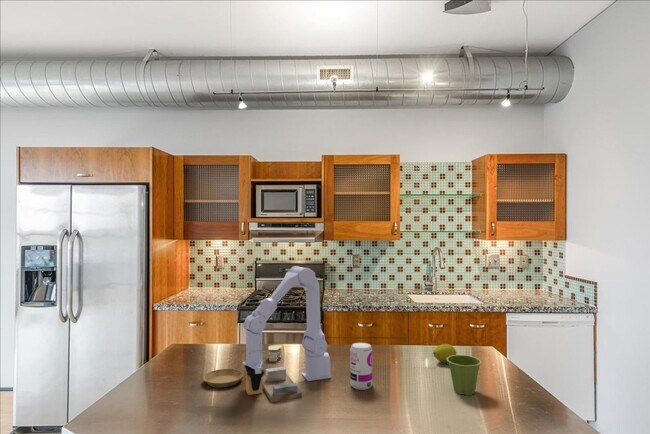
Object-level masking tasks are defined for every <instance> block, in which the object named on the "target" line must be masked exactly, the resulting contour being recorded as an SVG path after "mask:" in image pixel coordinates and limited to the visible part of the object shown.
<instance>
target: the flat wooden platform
mask: <svg viewBox="0 0 650 434" xmlns="http://www.w3.org/2000/svg"><path fill="white" fill-rule="evenodd" d="M262 391H264V392H265V393H264V394H265V395H266V396H267V398H268V400H269V401H270V403H273V402H281V401H285V400H291V399H293V400H294V399H297V398H302V397H303V391H302V390H301V389H300V388H299V387H298V384H297V383H296V382H294V381H293V379H292V378H290V376H289V375H288V374H287V373H286V380H279V381H272V382H267V380H266V375H263V376H262Z"/></svg>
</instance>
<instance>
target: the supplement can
mask: <svg viewBox="0 0 650 434" xmlns="http://www.w3.org/2000/svg"><path fill="white" fill-rule="evenodd" d="M349 352H350V353H349V355H350V356H349V357H350V359H349V363H350V365H349V367H350V368H349V369H350V370H349V373H350V376H349V377H350V380H349V381H350V383H349V385H350V386H351V387H352V388H353V389H355V390H361V391H362V390H363V391H364V390H369V389H370V388H372V386H373V348H372V345H371V344H370V343H367V342H354V343H352V344H351V347H350V351H349Z"/></svg>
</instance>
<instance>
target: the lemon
mask: <svg viewBox="0 0 650 434" xmlns="http://www.w3.org/2000/svg"><path fill="white" fill-rule="evenodd" d="M432 354H433V356H434V358H435V359H436V360H437V361H438V362H440V363H443V364H449V363H448V361H447V357H449V356H452V355H457V350H456V349H455V347H454V346H453V345H451V344H449V343H442V344H440V345H438V346H436V348H435V349H434V350H433V352H432Z"/></svg>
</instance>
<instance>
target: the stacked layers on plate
mask: <svg viewBox="0 0 650 434" xmlns="http://www.w3.org/2000/svg"><path fill="white" fill-rule="evenodd" d="M282 347H283V345H281V344H277V345H276V344H274V345H269V346H268V358H269V359H268V360H269V362H278V360H279V357H281V356H282V355H283V353H282V351H283V348H282ZM277 359H278V360H277Z"/></svg>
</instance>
